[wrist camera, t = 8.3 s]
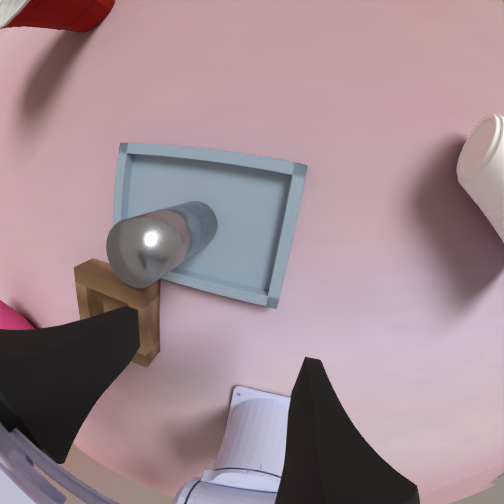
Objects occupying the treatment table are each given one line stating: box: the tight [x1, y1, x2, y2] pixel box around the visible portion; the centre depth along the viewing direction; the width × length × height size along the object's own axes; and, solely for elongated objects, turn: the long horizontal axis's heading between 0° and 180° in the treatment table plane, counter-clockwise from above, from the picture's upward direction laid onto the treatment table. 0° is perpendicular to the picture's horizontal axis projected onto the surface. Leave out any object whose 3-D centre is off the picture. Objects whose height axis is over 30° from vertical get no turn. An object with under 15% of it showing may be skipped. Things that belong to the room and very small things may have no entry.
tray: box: [113, 143, 307, 309], centre depth 19 cm, size 10×14×2 cm
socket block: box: [74, 258, 160, 367], centre depth 23 cm, size 8×8×3 cm
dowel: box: [106, 201, 218, 288], centre depth 16 cm, size 3×3×8 cm
